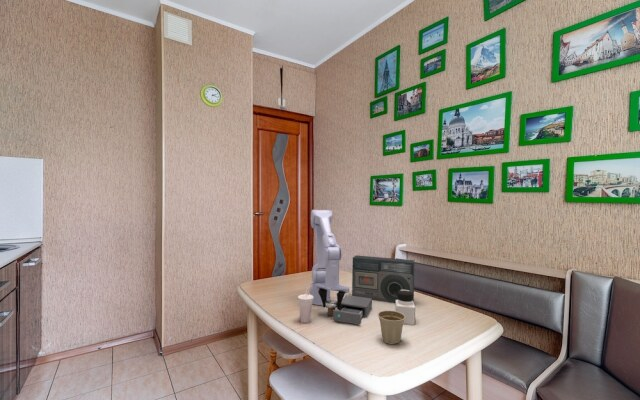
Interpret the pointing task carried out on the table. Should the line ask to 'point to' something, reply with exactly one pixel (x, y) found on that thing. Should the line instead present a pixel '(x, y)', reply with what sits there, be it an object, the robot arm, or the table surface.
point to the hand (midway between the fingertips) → (331, 307)
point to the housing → (357, 304)
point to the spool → (330, 312)
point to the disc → (331, 304)
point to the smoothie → (305, 306)
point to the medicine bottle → (406, 306)
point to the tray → (348, 315)
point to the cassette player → (381, 277)
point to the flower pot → (391, 326)
